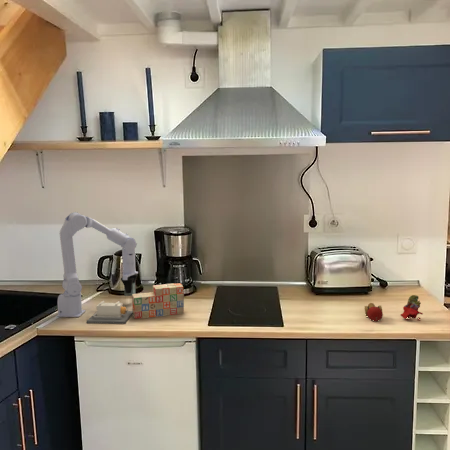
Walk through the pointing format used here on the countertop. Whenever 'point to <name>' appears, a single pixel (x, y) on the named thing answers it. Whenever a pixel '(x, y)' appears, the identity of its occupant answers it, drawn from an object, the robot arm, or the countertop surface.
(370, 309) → the kendama
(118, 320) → the jig board
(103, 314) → the fuselage
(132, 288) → the tail
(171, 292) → the stack of blocks
